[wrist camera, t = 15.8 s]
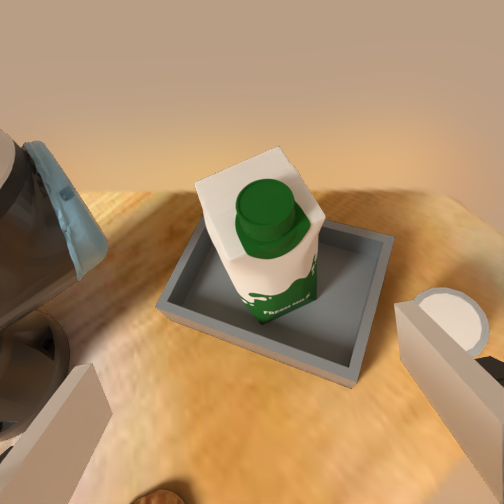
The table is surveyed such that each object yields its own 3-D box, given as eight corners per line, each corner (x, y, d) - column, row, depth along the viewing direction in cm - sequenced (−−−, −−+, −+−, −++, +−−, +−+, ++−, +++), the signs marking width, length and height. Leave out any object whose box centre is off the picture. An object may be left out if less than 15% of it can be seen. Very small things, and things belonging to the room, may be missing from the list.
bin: (170, 320, 44) (154, 306, 39) (223, 213, 50) (214, 191, 45) (351, 388, 37) (356, 382, 33) (386, 257, 43) (395, 236, 39)
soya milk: (257, 336, 40) (216, 257, 23) (228, 270, 45) (174, 161, 27) (328, 303, 41) (340, 201, 23) (292, 241, 45) (280, 115, 27)
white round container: (444, 303, 40) (468, 279, 34) (473, 366, 37) (506, 352, 31) (383, 316, 40) (395, 295, 34) (406, 380, 37) (425, 369, 31)
